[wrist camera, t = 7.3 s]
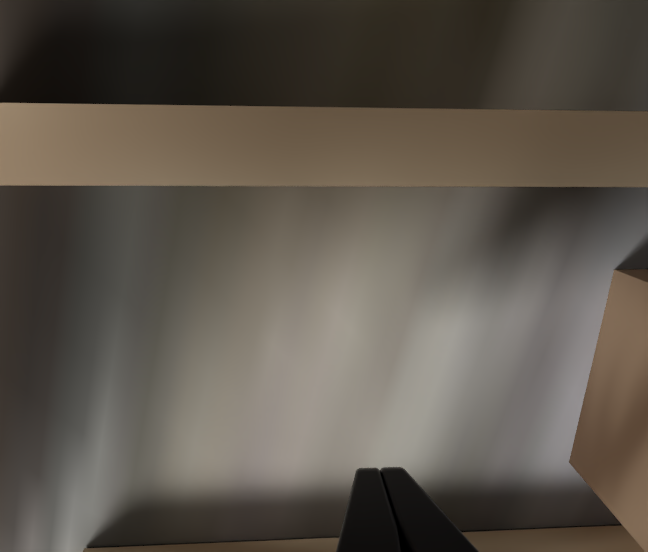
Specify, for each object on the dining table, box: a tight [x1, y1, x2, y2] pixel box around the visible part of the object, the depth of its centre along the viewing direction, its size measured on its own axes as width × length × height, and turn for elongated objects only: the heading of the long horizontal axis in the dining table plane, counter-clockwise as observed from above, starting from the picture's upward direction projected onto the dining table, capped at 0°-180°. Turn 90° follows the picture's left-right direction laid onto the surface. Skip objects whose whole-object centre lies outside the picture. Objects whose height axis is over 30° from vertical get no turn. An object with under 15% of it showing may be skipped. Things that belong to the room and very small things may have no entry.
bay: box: [0, 103, 648, 552], centre depth 9 cm, size 13×22×3 cm, turn 90°
